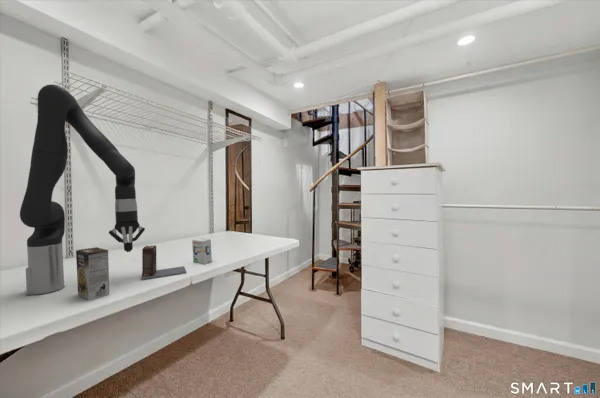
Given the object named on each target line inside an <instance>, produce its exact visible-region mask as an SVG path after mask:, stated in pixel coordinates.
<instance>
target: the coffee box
mask: <svg viewBox="0 0 600 398" xmlns="http://www.w3.org/2000/svg"><path fill="white" fill-rule="evenodd" d="M75 255H76V256H75V258H76V260H75V261H76V277H77V278H76V279H77V295H78V296H80V297H81V298H83V299H85V300H86V301H93V300H95V299H98V298H99V299H100V298H101V297H105V296H109V295H110V269H109V268H110V267H109V264H110V263H109V249H105V248H100V247H91V248H82V249H77V250H75Z"/></svg>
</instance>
